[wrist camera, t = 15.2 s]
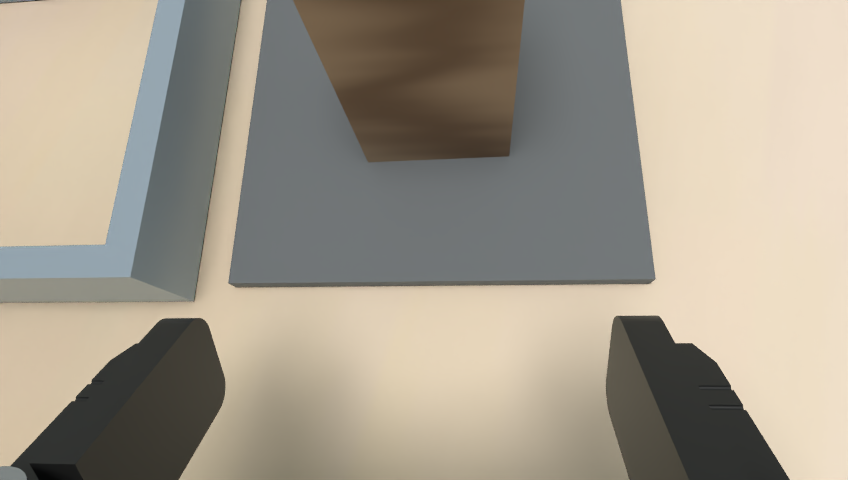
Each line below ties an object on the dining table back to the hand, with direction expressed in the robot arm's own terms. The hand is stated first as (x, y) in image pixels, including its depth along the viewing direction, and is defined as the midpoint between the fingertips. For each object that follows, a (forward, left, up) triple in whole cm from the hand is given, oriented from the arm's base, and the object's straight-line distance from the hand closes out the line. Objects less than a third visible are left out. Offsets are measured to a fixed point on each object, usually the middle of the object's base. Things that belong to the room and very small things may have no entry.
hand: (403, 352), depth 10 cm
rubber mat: (0, +10, -7) cm, 12 cm away
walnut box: (0, +10, -6) cm, 12 cm away
